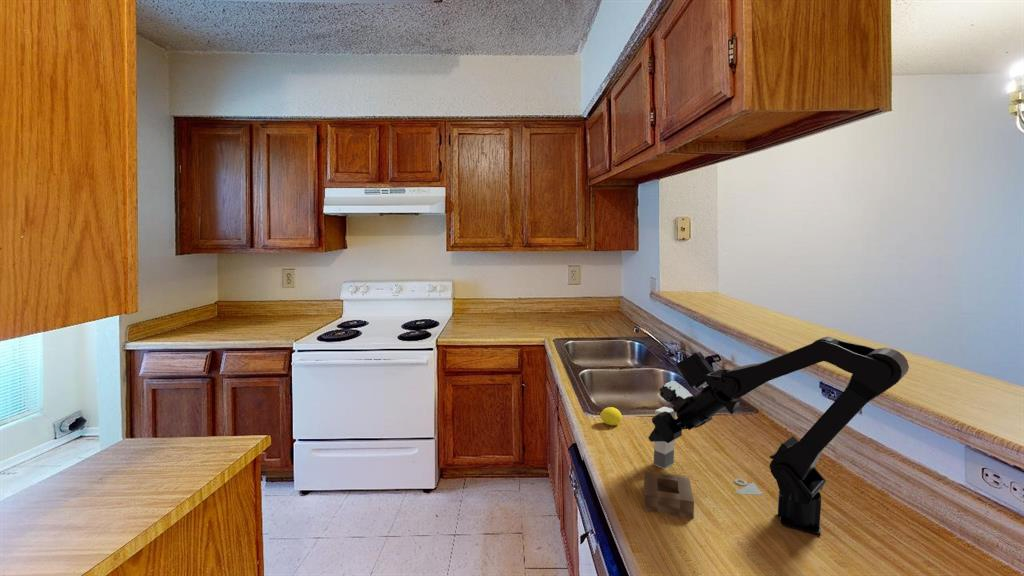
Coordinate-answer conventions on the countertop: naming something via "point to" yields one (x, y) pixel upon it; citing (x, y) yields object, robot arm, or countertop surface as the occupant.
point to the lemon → (611, 416)
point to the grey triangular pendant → (747, 488)
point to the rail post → (664, 446)
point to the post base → (668, 494)
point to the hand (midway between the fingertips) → (660, 434)
